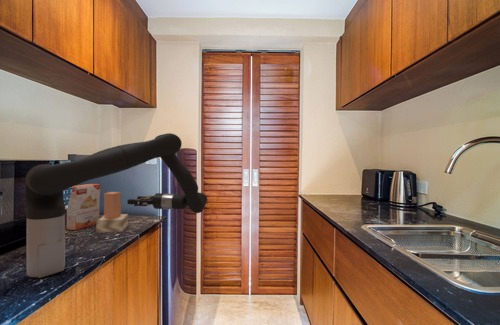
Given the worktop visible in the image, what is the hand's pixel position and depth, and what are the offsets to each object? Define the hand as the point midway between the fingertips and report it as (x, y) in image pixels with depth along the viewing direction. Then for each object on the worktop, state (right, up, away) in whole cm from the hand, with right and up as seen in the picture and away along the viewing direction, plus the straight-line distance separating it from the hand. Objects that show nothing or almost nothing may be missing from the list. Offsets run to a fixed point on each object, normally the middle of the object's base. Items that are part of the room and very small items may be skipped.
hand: (132, 200), depth 119 cm
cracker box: (-26, -14, +3) cm, 30 cm away
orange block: (-10, -8, +1) cm, 13 cm away
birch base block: (-10, -15, +1) cm, 18 cm away
